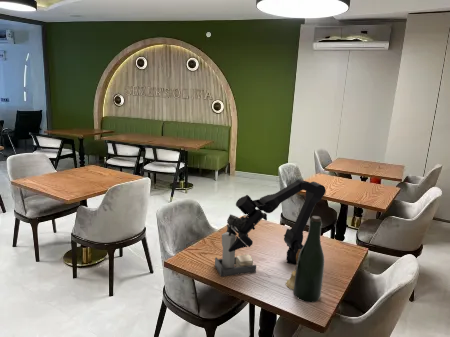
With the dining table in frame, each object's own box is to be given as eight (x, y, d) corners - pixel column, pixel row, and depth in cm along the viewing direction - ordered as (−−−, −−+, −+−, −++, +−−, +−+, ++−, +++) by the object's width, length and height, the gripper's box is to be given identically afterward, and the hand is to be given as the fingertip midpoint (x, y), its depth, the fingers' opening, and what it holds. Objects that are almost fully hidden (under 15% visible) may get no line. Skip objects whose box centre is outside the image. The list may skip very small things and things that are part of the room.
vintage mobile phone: (225, 266, 150) (227, 213, 145) (234, 270, 147) (237, 216, 142) (220, 269, 147) (222, 216, 142) (228, 273, 144) (231, 219, 139)
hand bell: (302, 279, 142) (305, 244, 139) (309, 290, 134) (313, 254, 131) (283, 280, 141) (286, 245, 138) (289, 291, 133) (292, 254, 130)
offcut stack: (247, 263, 154) (248, 254, 153) (253, 270, 148) (254, 260, 147) (235, 265, 152) (235, 255, 151) (240, 272, 146) (240, 262, 145)
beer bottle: (301, 283, 138) (310, 209, 130) (325, 295, 131) (336, 217, 123) (288, 294, 130) (296, 216, 122) (312, 307, 124) (323, 225, 115)
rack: (248, 261, 155) (248, 253, 154) (255, 272, 147) (256, 263, 146) (214, 265, 150) (215, 257, 149) (220, 276, 142) (221, 268, 141)
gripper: (232, 202, 151) (207, 226, 150) (247, 216, 134) (219, 244, 133) (247, 217, 155) (223, 241, 154) (263, 233, 138) (237, 260, 137)
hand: (225, 246), depth 144 cm, fingers open, 9 cm apart
